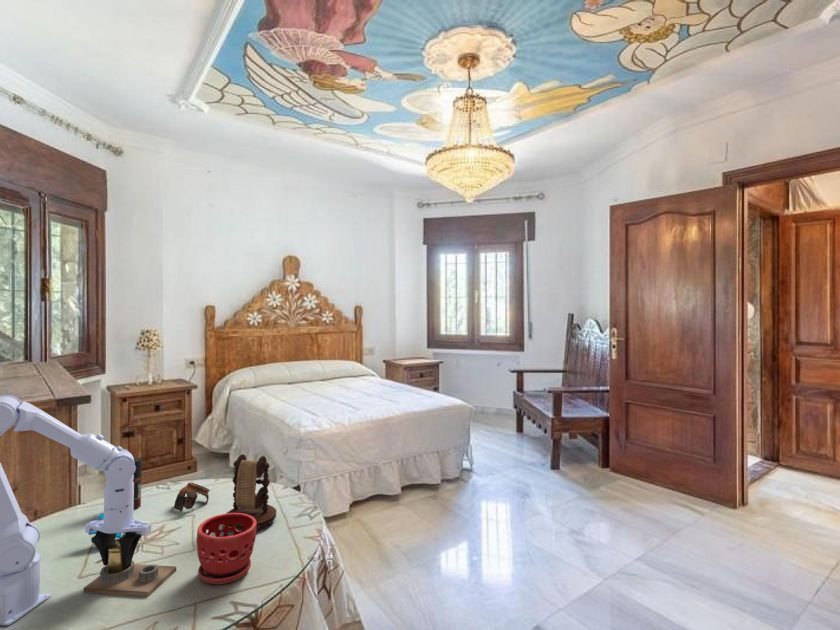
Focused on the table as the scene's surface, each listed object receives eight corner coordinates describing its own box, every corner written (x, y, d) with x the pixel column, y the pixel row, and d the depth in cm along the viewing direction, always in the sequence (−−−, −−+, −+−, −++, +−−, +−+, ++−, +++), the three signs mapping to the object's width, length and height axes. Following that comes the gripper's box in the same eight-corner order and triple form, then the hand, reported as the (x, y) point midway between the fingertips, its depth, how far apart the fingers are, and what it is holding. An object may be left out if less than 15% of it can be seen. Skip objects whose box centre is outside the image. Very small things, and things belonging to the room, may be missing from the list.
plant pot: (190, 594, 99) (191, 540, 99) (201, 562, 112) (202, 514, 112) (253, 585, 103) (254, 533, 103) (257, 555, 115) (258, 509, 115)
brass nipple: (121, 576, 102) (121, 549, 102) (102, 575, 102) (103, 549, 102) (132, 565, 106) (133, 540, 106) (115, 565, 106) (115, 540, 106)
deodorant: (120, 505, 144) (121, 458, 144) (142, 502, 146) (143, 456, 146) (116, 512, 138) (117, 464, 138) (139, 509, 141) (140, 461, 141)
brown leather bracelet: (171, 505, 146) (185, 479, 149) (200, 514, 148) (212, 489, 152) (170, 509, 135) (184, 482, 139) (200, 520, 138) (214, 492, 141)
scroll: (212, 531, 127) (213, 461, 128) (241, 509, 142) (243, 446, 142) (259, 537, 125) (261, 465, 125) (285, 514, 139) (286, 450, 139)
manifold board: (148, 596, 98) (148, 582, 98) (83, 592, 99) (83, 578, 99) (176, 570, 108) (176, 558, 108) (116, 567, 109) (117, 554, 109)
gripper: (160, 499, 107) (158, 556, 107) (102, 496, 108) (101, 552, 108) (139, 512, 100) (138, 572, 100) (78, 509, 101) (77, 569, 101)
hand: (117, 563), depth 104 cm, fingers closed on brass nipple, 4 cm apart
